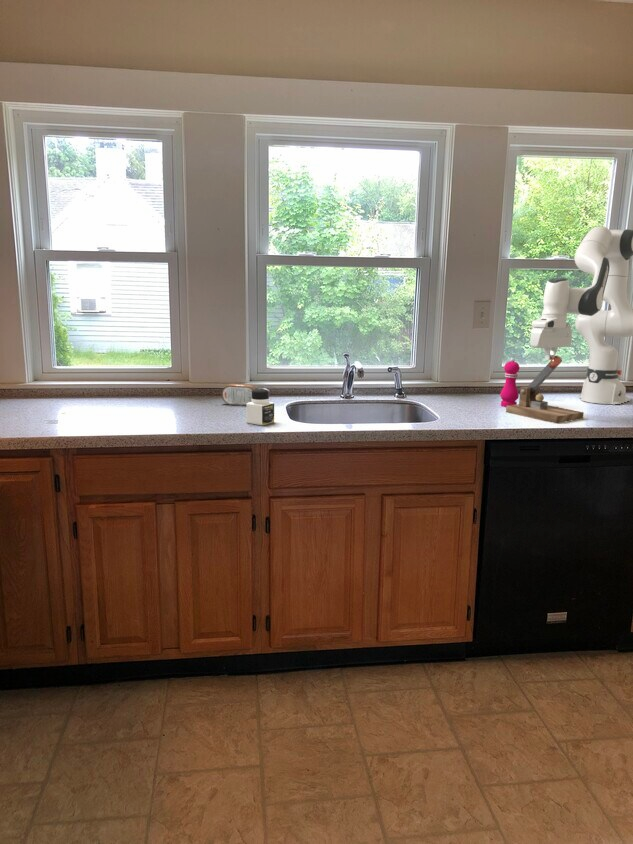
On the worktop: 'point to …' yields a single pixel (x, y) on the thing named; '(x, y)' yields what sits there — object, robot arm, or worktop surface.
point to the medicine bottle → (260, 408)
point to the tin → (237, 394)
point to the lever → (544, 374)
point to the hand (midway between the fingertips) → (549, 359)
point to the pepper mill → (510, 384)
